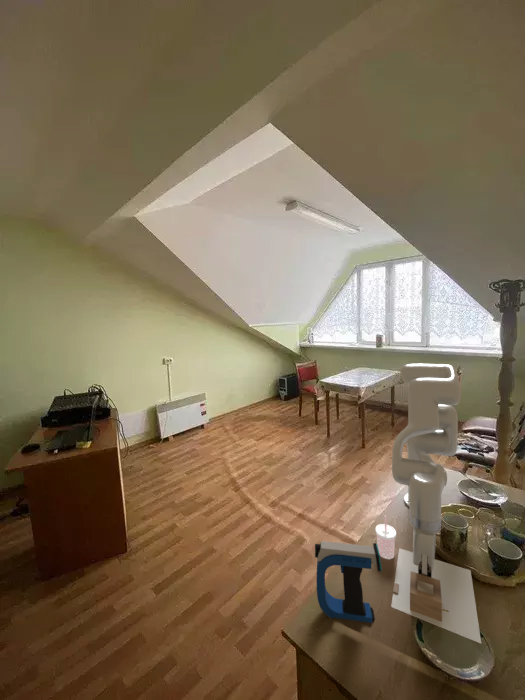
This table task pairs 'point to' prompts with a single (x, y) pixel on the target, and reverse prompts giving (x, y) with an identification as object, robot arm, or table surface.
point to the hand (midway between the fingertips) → (424, 580)
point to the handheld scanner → (346, 578)
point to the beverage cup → (385, 540)
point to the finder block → (425, 596)
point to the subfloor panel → (453, 595)
